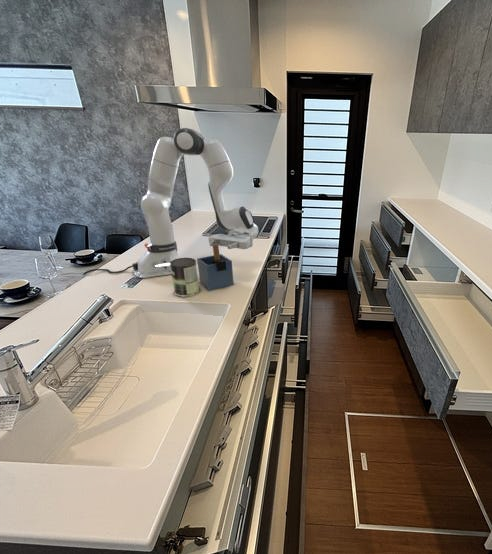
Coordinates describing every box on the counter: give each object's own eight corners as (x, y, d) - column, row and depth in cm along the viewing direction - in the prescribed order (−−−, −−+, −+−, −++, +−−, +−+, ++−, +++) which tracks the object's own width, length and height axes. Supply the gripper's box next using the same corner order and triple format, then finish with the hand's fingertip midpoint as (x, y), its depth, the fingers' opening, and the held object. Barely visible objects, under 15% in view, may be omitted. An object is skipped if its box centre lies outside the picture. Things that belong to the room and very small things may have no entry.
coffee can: (174, 298, 127) (169, 267, 121) (174, 288, 136) (170, 258, 130) (200, 295, 130) (196, 264, 125) (199, 285, 139) (195, 256, 134)
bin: (209, 290, 134) (206, 266, 130) (199, 282, 143) (197, 258, 138) (233, 284, 141) (231, 260, 137) (223, 276, 149) (220, 253, 145)
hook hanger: (214, 280, 138) (209, 244, 133) (222, 278, 141) (217, 242, 135) (219, 284, 134) (214, 246, 128) (228, 282, 136) (223, 245, 130)
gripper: (218, 229, 149) (199, 236, 137) (254, 234, 142) (238, 241, 130) (219, 241, 151) (201, 249, 139) (255, 247, 145) (239, 255, 133)
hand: (219, 246), depth 135 cm, fingers open, 8 cm apart
